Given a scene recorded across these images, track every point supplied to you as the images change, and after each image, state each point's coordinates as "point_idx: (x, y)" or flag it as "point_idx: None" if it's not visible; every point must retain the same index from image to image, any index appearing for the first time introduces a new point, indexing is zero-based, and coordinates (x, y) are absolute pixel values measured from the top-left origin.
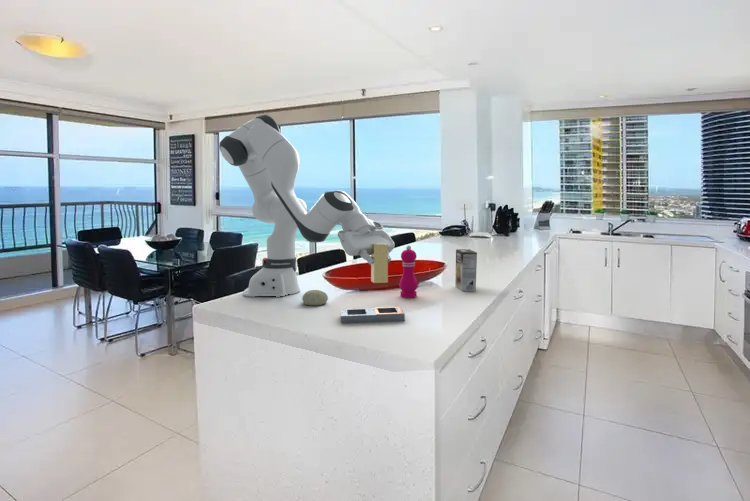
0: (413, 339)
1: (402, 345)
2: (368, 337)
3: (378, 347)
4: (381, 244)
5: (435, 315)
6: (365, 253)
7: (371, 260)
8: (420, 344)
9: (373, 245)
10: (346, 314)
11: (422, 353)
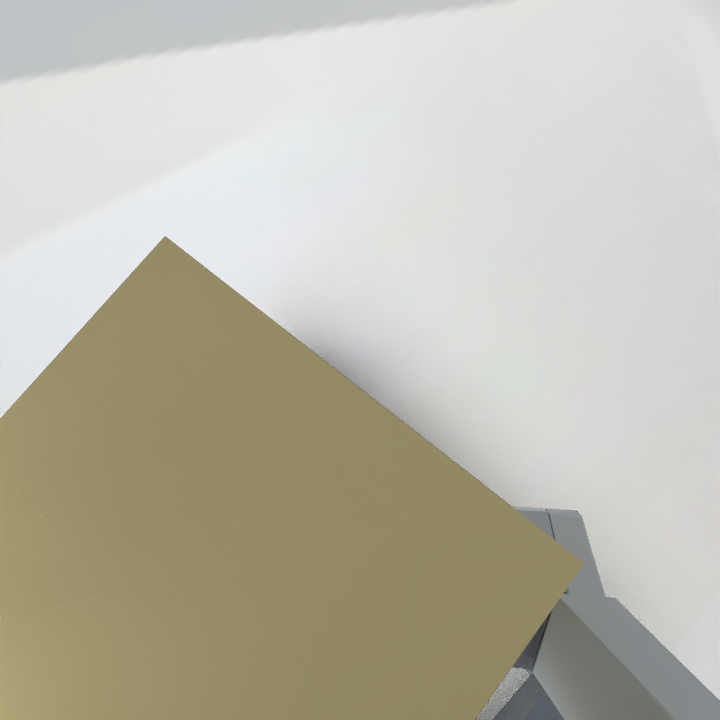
0: (505, 157)
1: (611, 154)
2: (648, 357)
3: (717, 225)
4: (328, 391)
5: (34, 282)
6: (715, 699)
7: (578, 526)
8: (540, 98)
9: (508, 651)
10: (546, 706)
11: (625, 39)
